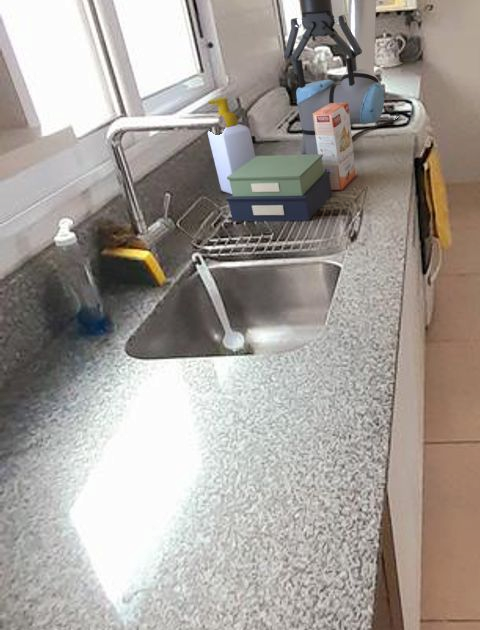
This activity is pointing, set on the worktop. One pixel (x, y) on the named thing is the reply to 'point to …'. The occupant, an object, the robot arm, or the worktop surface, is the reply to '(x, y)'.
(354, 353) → the worktop surface
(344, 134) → the cracker box
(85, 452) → the worktop surface
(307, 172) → the box stack
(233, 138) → the soap bottle
